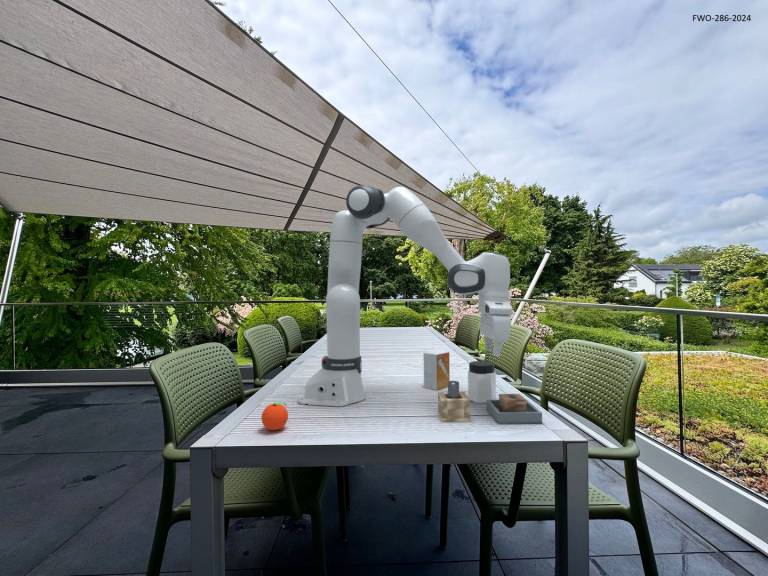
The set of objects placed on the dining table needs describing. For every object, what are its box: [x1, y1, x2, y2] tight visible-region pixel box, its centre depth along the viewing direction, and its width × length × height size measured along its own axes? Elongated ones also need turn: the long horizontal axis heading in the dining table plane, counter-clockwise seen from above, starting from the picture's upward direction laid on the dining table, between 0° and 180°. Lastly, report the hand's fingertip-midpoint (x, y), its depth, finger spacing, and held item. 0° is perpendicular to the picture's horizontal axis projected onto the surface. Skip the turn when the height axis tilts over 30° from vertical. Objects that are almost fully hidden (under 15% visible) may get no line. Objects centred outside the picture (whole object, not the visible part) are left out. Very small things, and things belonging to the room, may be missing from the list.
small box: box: [423, 349, 451, 391], centre depth 141 cm, size 8×6×13 cm
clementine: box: [261, 402, 289, 431], centre depth 102 cm, size 8×7×7 cm
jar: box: [467, 360, 497, 404], centre depth 124 cm, size 9×8×12 cm
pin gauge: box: [447, 380, 460, 399], centre depth 108 cm, size 3×3×9 cm
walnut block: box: [498, 393, 528, 412], centre depth 108 cm, size 6×6×5 cm
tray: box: [486, 399, 543, 425], centre depth 108 cm, size 12×12×3 cm
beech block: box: [437, 391, 471, 423], centre depth 109 cm, size 8×8×6 cm
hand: (492, 353), depth 112 cm, fingers open, 8 cm apart
